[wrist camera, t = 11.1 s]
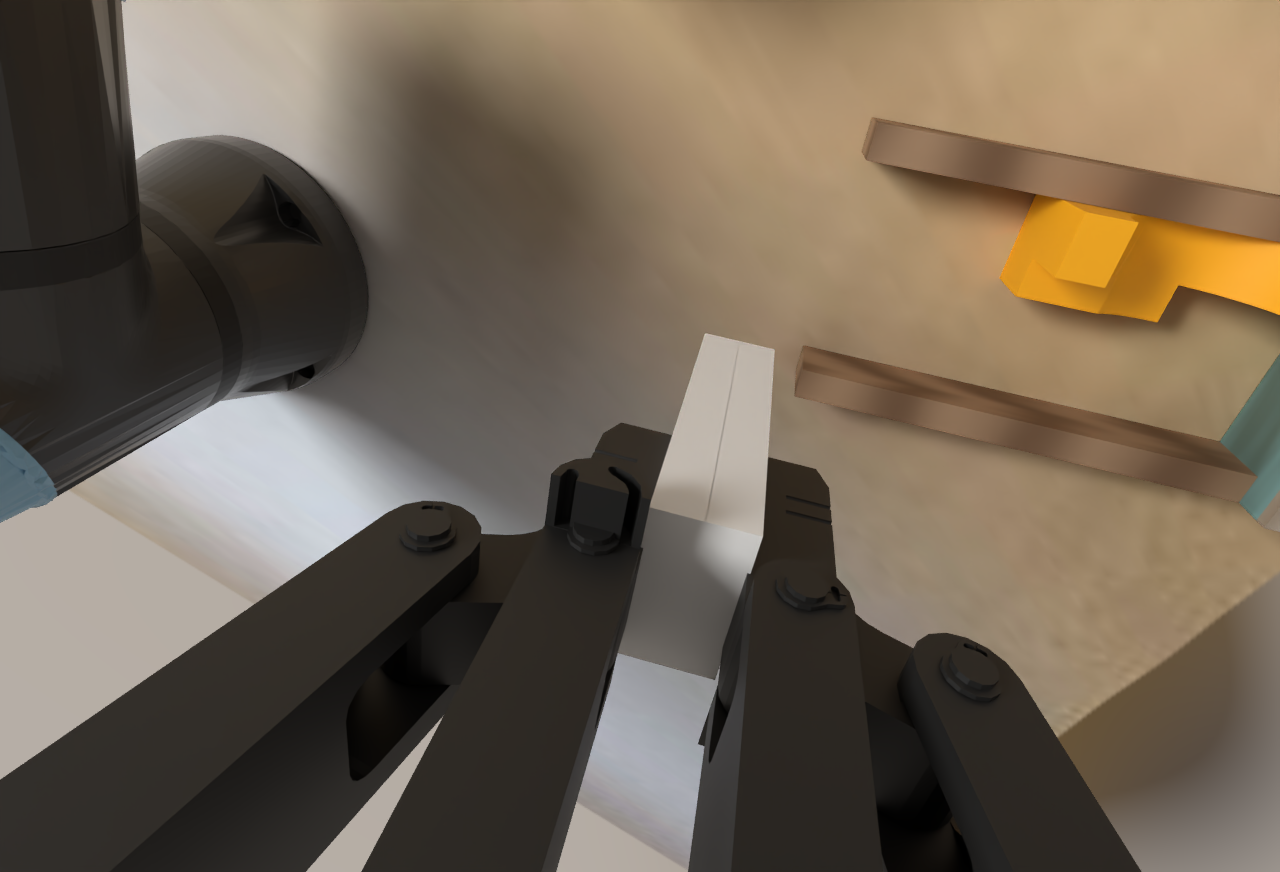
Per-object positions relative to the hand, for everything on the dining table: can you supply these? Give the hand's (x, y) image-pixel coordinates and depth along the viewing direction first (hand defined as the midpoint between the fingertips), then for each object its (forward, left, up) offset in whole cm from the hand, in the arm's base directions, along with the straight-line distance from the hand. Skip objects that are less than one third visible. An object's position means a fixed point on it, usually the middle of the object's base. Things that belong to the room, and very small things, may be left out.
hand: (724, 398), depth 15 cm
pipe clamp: (+17, +1, -23) cm, 29 cm away
